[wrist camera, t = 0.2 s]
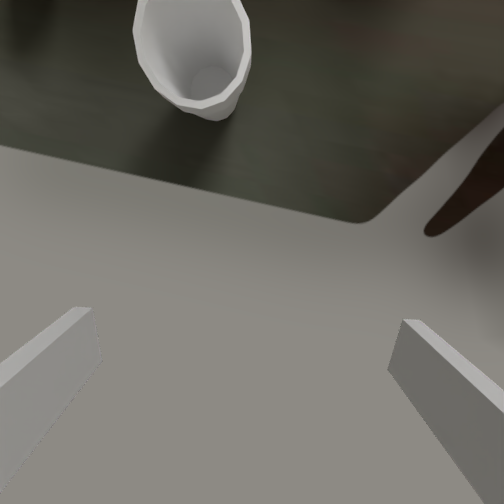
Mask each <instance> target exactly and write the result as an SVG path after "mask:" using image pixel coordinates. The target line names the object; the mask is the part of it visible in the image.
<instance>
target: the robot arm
mask: <svg viewBox="0 0 504 504" xmlns="http://www.w3.org/2000/svg"><path fill="white" fill-rule="evenodd" d="M101 362H102V357H101V351H100V345H99V340H98V334H97V328H96V323H95V317H94V311H93V308H90V307H89V308H88V307H73V308H72V309H70V310H69V311H68V312H66V313H65V314H64V315H63V316H62V317H60V318H59V319H57V320H56V321H55V322H53V323H52V324H51V325H49V326H48V327H47V328H46V329H44V330H43V331H42V332H40V333H39V334H38V335H36V336H35V337H34V338H33V339H31V340H30V341H29V342H27V343H26V344H25V345H23V346H22V347H21V348H19V349H18V350H17V351H16V352H14V353H13V354H12V355H10V356H9V357H8V358H6V359H5V360H4V361H2V362H1V363H0V493H1V492H2V490H3V489H4V488H5V487H6V485H7V484H8V483H9V481H10V480H11V479H12V477H13V476H14V475H15V474H16V472H17V471H18V470H19V468H20V467H21V466H22V465H23V463H24V462H25V461H26V459H27V458H28V457H29V455H30V454H31V453H32V452H33V450H34V449H35V448H36V446H37V445H38V444H39V442H40V441H41V440H42V439H43V437H44V436H45V435H46V434H47V432H48V431H49V430H50V428H51V427H52V426H53V424H54V423H55V422H56V420H57V419H58V418H59V417H60V415H61V414H62V413H63V412H64V410H65V409H66V408H67V406H68V405H69V404H70V402H71V401H72V400H73V398H74V397H75V396H76V395H77V393H78V392H79V391H80V390H81V388H82V387H83V386H84V384H85V383H86V382H87V380H88V379H89V378H90V377H91V375H92V374H93V373H94V371H95V370H96V369H97V368H98V366H99V365H100V364H101ZM388 371H389V372H390V374H391V375H392V376H393V378H394V379H395V380H396V382H397V383H398V385H399V386H400V387H401V389H402V390H403V392H404V393H405V394H406V396H407V397H408V399H409V400H410V401H411V402H412V404H413V405H414V407H415V408H416V410H417V411H418V412H419V414H420V415H421V417H422V418H423V419H424V421H425V422H426V424H427V425H428V426H429V428H430V429H431V430H432V432H433V433H434V435H435V436H436V437H437V439H438V440H439V441H440V443H441V444H442V446H443V447H444V448H445V450H446V451H447V453H448V454H449V455H450V457H451V458H452V460H453V461H454V462H455V464H456V465H457V467H458V468H459V469H460V471H461V472H462V473H463V475H464V476H465V478H466V479H467V480H468V482H469V483H470V484H471V486H472V487H473V489H474V490H475V491H476V493H477V494H478V496H479V497H480V498H481V500H482V501H483V503H484V504H504V390H503V389H501V388H500V387H499V386H498V385H497V384H495V383H494V382H493V381H492V380H491V379H490V378H488V377H487V376H486V375H485V374H484V373H482V372H481V371H480V370H479V369H478V368H476V367H475V366H474V365H473V364H472V363H470V362H469V361H468V360H467V359H466V358H465V357H463V356H462V355H461V354H460V353H459V352H457V351H456V350H455V349H454V348H453V347H452V346H450V345H449V344H448V343H447V342H445V341H444V340H443V339H442V338H441V337H440V336H438V335H437V334H436V333H435V332H434V331H432V330H431V329H430V328H429V327H428V326H427V325H425V324H424V323H423V322H422V321H420V320H410V319H403V320H402V323H401V326H400V330H399V333H398V337H397V340H396V343H395V346H394V350H393V353H392V357H391V360H390V363H389V366H388Z"/></svg>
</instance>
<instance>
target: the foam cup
mask: <svg viewBox="0 0 504 504" xmlns="http://www.w3.org/2000/svg"><path fill="white" fill-rule="evenodd" d="M132 31H133V36H134V41H135V47H136V52H137V57H138V62H139V64H140V66H141V67H142V69H143V71H144V72H145V74H146V76H147V77H148V79H149V80H150V82H151V84H152V85H153V87H154V89H155V90H156V91H158V92H159V93H160V94H161V95H162V96H163V97H164V98H165V99H167V100H168V101H169V102H171V103H172V104H174V105H175V106H176V107H178V108H179V109H181V110H182V111H183V112H187V113H193V114H195V115H197V116H200V117H202V118H204V119H207V120H213V121H219V120H222V119H225V118H227V117H228V116H229V115H230V114H231V113H232V112H233V111H234V109H235V107H236V104H237V100H238V97H239V94H240V93H241V92H242V91H243V89H244V85H245V82H246V79H247V76H248V73H249V70H250V67H251V39H250V24H249V19H248V17H247V14H246V12H245V10H244V8H243V6H242V4H241V2H240V0H138V3H137V9H136V14H135V19H134V25H133V30H132Z"/></svg>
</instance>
